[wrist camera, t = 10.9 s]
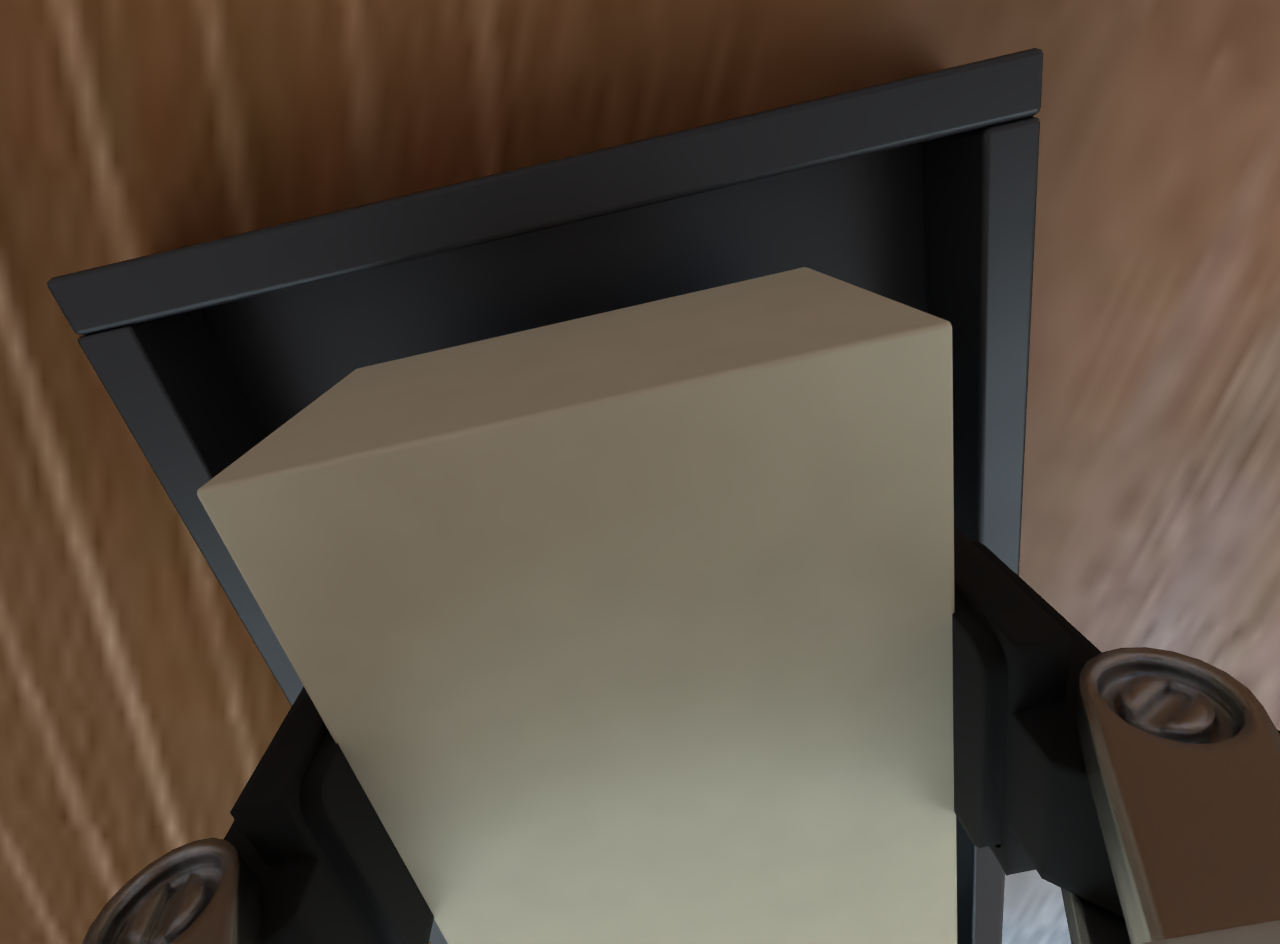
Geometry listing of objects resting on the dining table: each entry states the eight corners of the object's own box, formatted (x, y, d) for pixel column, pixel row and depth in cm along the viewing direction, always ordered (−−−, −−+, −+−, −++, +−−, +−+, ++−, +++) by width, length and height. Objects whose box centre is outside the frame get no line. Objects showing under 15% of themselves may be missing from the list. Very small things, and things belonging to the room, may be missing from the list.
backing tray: (147, 261, 11) (39, 279, 9) (955, 72, 10) (1047, 45, 8) (535, 1018, 20) (529, 1113, 18) (957, 933, 20) (999, 1020, 18)
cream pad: (353, 368, 9) (191, 490, 5) (807, 265, 9) (955, 320, 5) (530, 802, 13) (504, 1048, 9) (853, 735, 13) (959, 960, 9)
